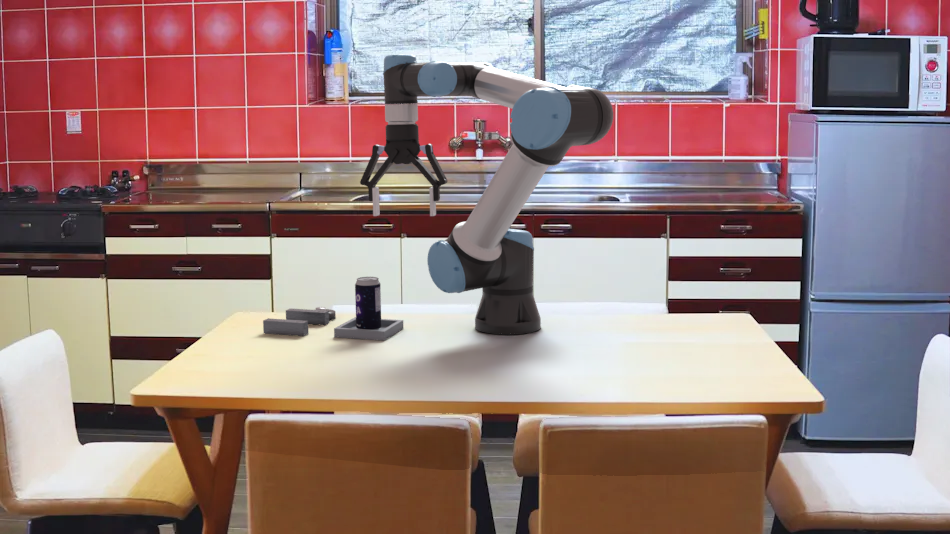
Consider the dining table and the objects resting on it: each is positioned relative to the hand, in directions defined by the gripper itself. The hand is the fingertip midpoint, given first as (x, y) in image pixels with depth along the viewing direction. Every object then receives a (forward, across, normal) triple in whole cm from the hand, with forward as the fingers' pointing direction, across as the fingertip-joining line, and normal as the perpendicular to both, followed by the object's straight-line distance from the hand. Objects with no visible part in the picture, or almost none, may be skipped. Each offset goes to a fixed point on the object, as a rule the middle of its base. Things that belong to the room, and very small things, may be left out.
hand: (404, 215), depth 255 cm
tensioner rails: (+25, +24, +6) cm, 35 cm away
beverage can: (+25, +6, +11) cm, 28 cm away
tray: (+26, +6, +11) cm, 28 cm away
